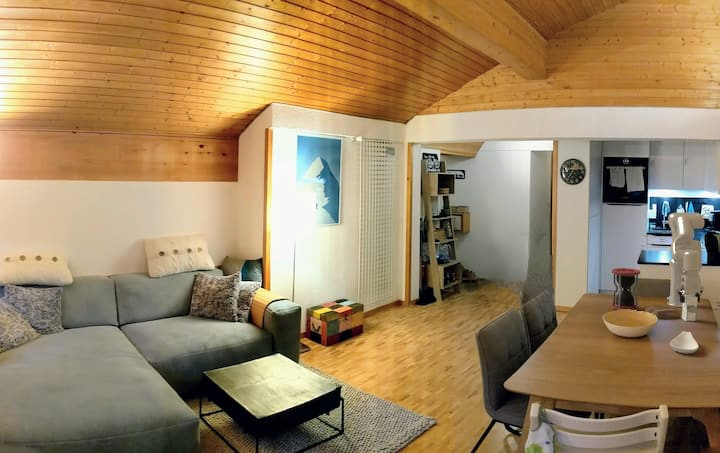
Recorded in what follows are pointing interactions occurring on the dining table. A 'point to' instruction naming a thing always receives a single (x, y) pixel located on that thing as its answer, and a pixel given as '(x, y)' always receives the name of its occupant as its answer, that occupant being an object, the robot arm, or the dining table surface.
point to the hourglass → (625, 288)
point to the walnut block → (662, 312)
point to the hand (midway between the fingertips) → (689, 302)
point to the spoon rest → (684, 343)
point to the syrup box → (689, 308)
